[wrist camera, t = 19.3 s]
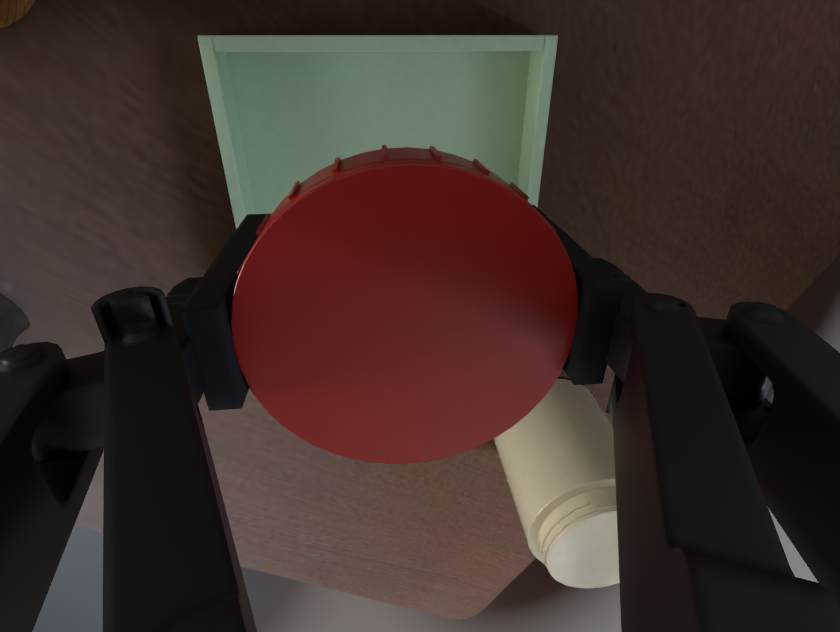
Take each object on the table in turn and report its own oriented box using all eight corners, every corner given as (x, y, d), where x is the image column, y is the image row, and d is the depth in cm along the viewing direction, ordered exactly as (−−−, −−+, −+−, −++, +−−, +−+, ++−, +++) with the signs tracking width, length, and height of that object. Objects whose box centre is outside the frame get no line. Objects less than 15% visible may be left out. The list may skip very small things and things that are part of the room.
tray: (540, 36, 23) (558, 34, 20) (514, 285, 29) (526, 303, 27) (213, 36, 21) (196, 35, 19) (262, 296, 28) (253, 317, 26)
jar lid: (172, 254, 11) (142, 287, 10) (479, 71, 10) (500, 75, 9) (355, 459, 15) (355, 505, 14) (592, 345, 14) (621, 382, 13)
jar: (606, 374, 33) (696, 495, 24) (587, 456, 37) (658, 587, 28) (495, 381, 33) (545, 509, 24) (487, 464, 37) (528, 601, 27)
